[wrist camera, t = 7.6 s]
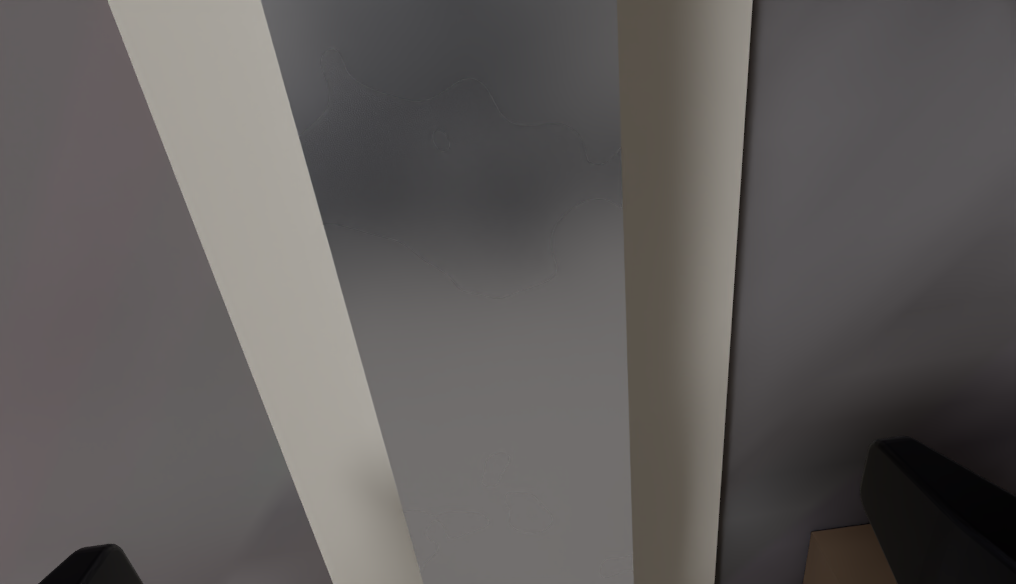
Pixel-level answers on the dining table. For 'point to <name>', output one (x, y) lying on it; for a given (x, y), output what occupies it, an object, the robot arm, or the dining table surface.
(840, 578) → the post
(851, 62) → the dining table surface
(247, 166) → the mat
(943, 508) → the robot arm
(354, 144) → the rail
